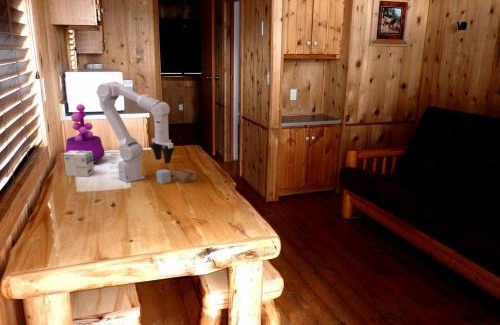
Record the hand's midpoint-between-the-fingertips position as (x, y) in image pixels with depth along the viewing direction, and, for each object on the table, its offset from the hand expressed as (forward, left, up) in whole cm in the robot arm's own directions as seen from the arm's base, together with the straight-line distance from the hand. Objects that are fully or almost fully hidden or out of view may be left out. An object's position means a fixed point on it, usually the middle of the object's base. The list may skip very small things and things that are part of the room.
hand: (162, 161), depth 177 cm
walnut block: (+9, -4, -10) cm, 14 cm away
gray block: (0, 0, -10) cm, 10 cm away
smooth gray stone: (+11, +5, -10) cm, 16 cm away
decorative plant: (-14, +53, -10) cm, 56 cm away
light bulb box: (-24, +34, -10) cm, 43 cm away
